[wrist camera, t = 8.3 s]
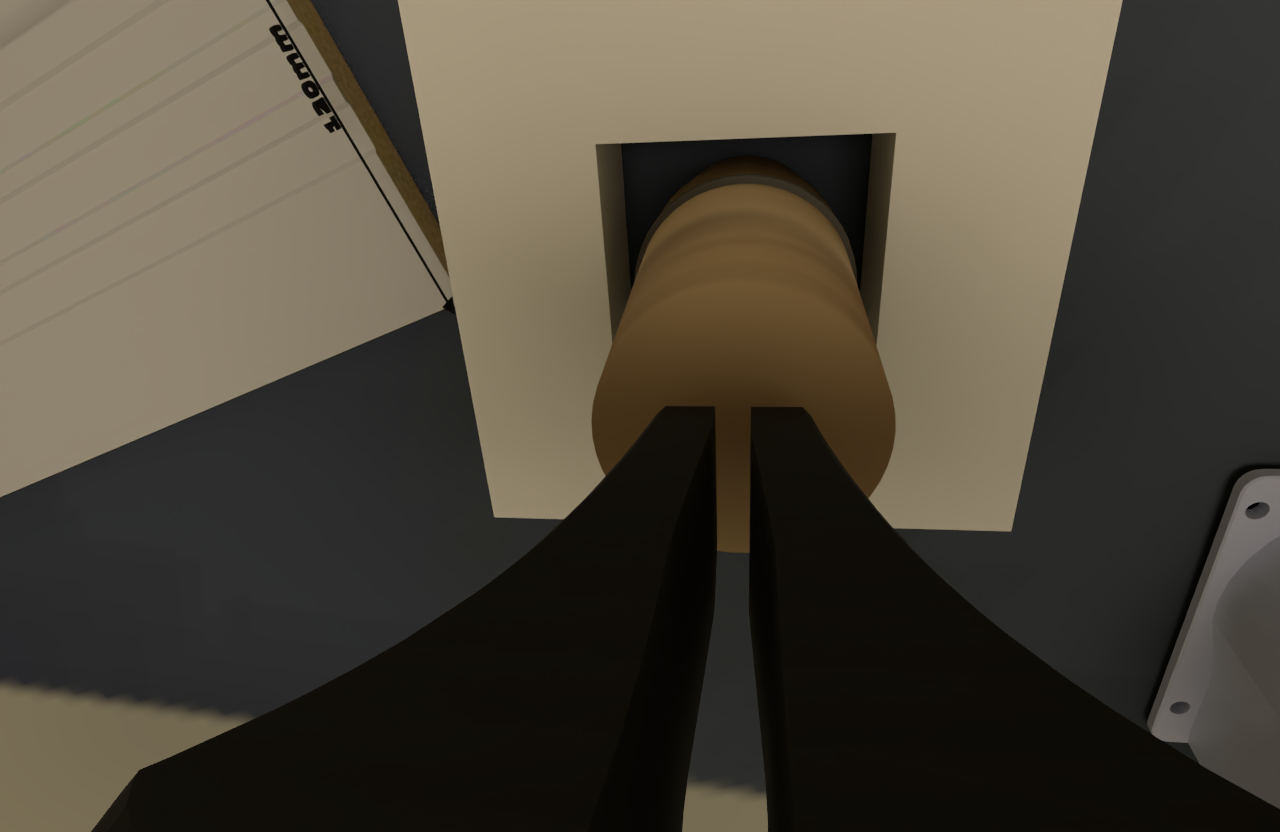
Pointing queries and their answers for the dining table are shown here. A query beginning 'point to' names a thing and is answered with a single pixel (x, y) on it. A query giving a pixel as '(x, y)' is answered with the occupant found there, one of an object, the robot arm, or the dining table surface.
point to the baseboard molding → (186, 217)
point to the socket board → (762, 108)
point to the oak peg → (747, 330)
